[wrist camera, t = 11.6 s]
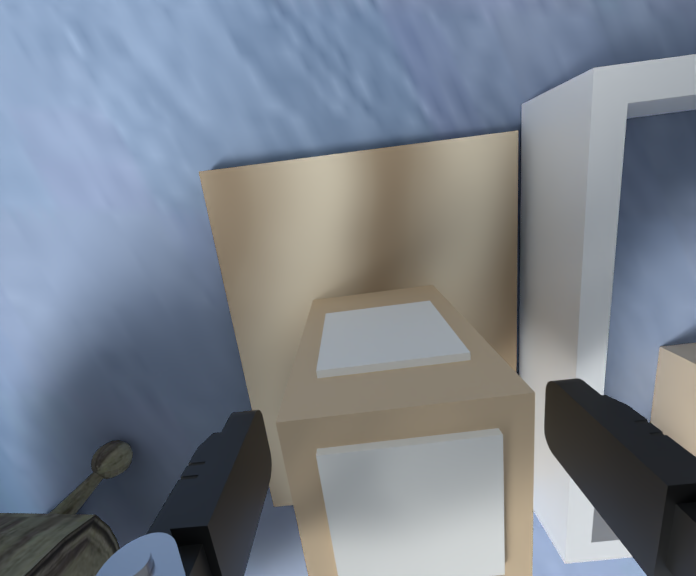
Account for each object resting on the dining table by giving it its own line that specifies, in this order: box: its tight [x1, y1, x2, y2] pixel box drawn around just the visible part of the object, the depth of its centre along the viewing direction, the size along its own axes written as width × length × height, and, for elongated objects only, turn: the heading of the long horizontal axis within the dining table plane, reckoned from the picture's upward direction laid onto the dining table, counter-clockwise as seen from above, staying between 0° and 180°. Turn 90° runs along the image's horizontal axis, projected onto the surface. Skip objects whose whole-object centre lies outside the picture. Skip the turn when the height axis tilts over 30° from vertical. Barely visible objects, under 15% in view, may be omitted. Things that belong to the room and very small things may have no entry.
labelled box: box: [276, 285, 535, 576], centre depth 11 cm, size 5×5×8 cm
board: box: [199, 130, 518, 507], centre depth 15 cm, size 12×16×1 cm
